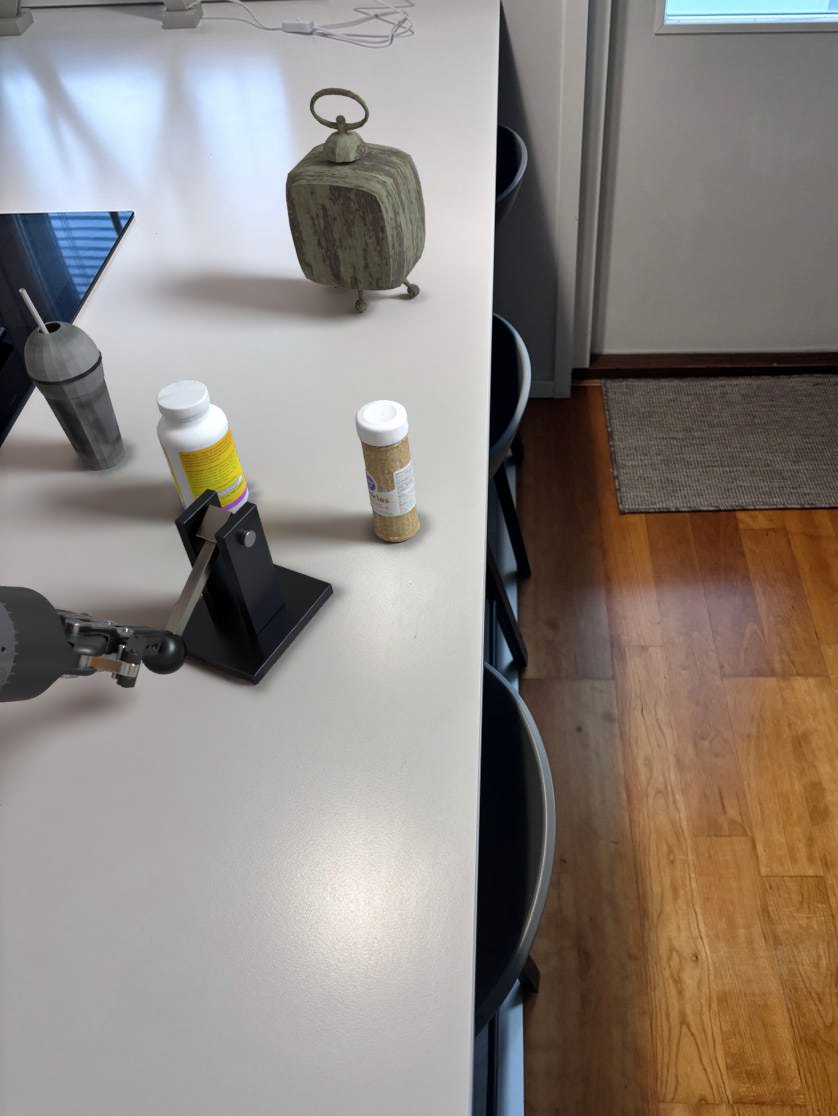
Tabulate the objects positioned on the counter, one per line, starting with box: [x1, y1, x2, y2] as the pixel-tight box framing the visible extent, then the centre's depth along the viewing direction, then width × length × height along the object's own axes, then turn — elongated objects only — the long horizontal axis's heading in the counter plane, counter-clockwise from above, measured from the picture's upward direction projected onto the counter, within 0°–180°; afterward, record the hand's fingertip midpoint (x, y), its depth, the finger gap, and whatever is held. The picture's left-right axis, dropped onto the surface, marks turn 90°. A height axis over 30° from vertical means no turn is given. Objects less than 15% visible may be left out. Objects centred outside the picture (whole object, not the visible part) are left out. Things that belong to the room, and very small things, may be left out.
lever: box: [141, 505, 235, 676], centre depth 79 cm, size 14×4×4 cm, turn 154°
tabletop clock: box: [285, 87, 427, 313], centre depth 115 cm, size 14×9×25 cm, turn 72°
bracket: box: [174, 489, 334, 685], centre depth 84 cm, size 12×10×13 cm
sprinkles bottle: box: [354, 399, 421, 543], centre depth 91 cm, size 5×5×14 cm
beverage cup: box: [18, 288, 126, 471], centre depth 98 cm, size 7×7×20 cm
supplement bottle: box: [155, 379, 249, 514], centre depth 95 cm, size 7×7×13 cm
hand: (152, 640), depth 77 cm, fingers closed
